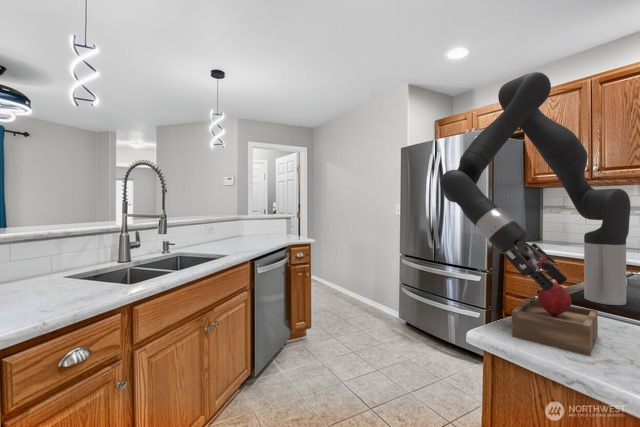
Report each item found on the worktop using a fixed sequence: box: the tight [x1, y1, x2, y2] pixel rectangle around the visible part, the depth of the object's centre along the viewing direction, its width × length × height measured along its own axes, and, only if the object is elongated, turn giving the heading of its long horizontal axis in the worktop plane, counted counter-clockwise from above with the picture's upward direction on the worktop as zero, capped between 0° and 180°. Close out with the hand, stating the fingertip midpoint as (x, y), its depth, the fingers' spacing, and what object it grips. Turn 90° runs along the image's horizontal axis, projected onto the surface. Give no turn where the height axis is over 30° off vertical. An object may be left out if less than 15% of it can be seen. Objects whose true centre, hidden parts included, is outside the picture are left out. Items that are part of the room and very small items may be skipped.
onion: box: [537, 279, 572, 316], centre depth 68 cm, size 6×6×8 cm
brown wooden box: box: [511, 298, 599, 357], centre depth 68 cm, size 13×13×6 cm
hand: (557, 285), depth 68 cm, fingers open, 8 cm apart
